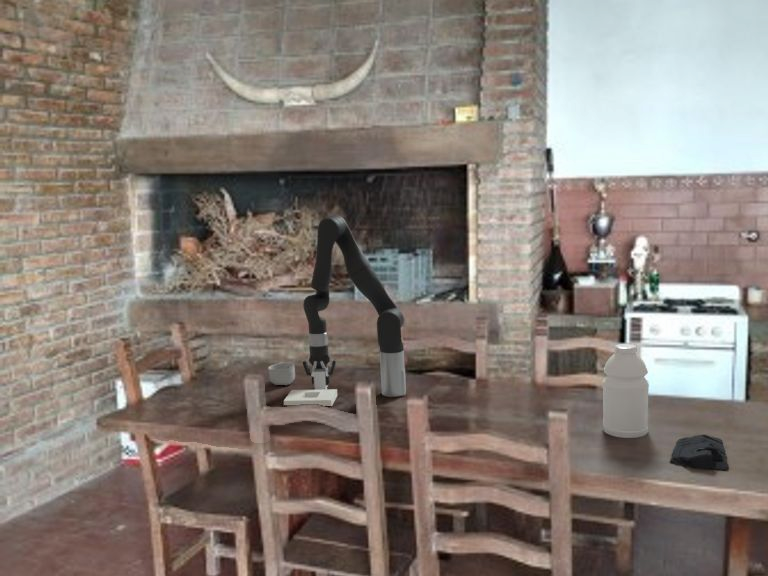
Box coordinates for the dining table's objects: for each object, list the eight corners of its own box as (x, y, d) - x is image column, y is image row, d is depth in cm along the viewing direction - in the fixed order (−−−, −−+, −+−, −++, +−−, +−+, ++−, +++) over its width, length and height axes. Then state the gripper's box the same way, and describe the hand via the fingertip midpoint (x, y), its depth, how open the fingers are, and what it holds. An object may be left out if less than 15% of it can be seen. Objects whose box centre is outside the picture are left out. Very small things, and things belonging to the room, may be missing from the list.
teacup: (293, 387, 308) (292, 368, 306) (267, 388, 308) (266, 369, 307) (298, 378, 321) (297, 359, 320) (272, 379, 322) (271, 360, 321)
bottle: (594, 432, 240) (594, 347, 236) (615, 421, 250) (615, 338, 246) (635, 442, 230) (636, 353, 226) (656, 430, 240) (657, 344, 236)
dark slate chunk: (730, 446, 225) (730, 431, 224) (727, 474, 205) (728, 457, 204) (675, 440, 231) (675, 426, 231) (667, 467, 212) (668, 450, 211)
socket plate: (337, 395, 293) (337, 389, 293) (331, 406, 280) (331, 400, 279) (292, 396, 295) (291, 389, 295) (284, 407, 281) (283, 400, 281)
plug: (327, 387, 306) (326, 365, 304) (325, 391, 300) (324, 369, 299) (317, 387, 306) (315, 365, 305) (314, 391, 301) (313, 369, 299)
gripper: (337, 341, 303) (339, 382, 306) (302, 341, 305) (305, 382, 307) (334, 345, 296) (337, 387, 298) (299, 346, 297) (301, 387, 300)
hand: (320, 384), depth 303 cm, fingers closed on plug, 4 cm apart
